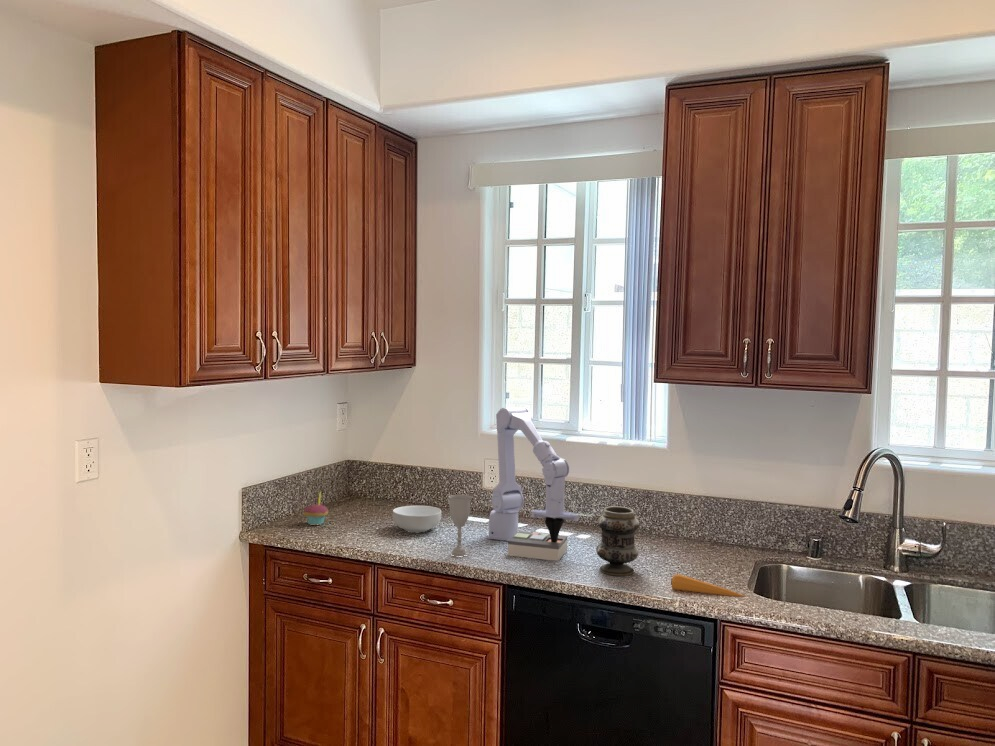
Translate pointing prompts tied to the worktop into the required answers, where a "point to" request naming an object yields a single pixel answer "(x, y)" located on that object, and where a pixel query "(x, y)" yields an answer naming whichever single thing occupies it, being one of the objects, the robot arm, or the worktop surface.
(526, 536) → the sage key
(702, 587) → the carrot
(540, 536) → the blue key
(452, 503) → the chalice
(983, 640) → the worktop surface
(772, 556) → the worktop surface
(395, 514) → the cereal bowl
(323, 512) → the cupcake
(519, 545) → the keypad
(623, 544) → the apothecary jar
